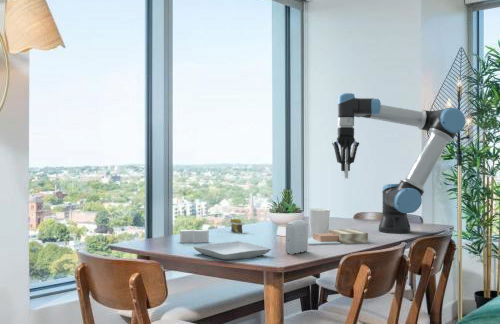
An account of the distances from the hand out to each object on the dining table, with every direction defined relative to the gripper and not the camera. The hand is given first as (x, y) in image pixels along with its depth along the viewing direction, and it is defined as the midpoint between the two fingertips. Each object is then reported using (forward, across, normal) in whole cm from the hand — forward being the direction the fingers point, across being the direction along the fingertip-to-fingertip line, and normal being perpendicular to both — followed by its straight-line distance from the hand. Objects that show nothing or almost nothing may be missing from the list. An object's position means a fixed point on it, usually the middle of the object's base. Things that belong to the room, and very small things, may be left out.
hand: (345, 178), depth 262 cm
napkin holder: (+27, -72, -5) cm, 77 cm away
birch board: (+26, -6, -16) cm, 31 cm away
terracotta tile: (+26, -16, -16) cm, 34 cm away
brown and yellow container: (+27, -47, +22) cm, 58 cm away
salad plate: (+27, -63, -40) cm, 79 cm away
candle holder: (+27, -12, +2) cm, 29 cm away
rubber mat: (+26, -20, -16) cm, 37 cm away
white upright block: (+27, -38, -40) cm, 61 cm away
